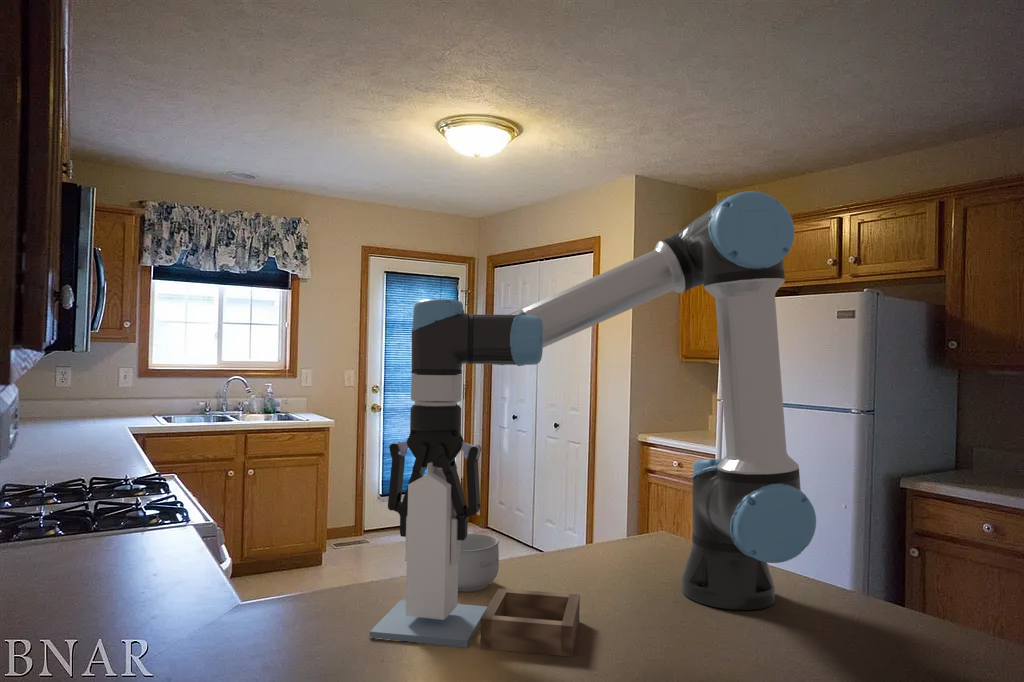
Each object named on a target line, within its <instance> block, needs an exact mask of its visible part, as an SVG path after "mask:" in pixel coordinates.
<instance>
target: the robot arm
mask: <svg viewBox="0 0 1024 682" xmlns="http://www.w3.org/2000/svg"><path fill="white" fill-rule="evenodd" d="M794 240H795V225H794V221H793V218H792V216H791V213H790V212H789V210H788V208H786V206H785V205H784V204H783V203H782V202H780V201H779V200H778V199H777V198H775V197H774V196H772V195H770V194H767V193H765V192H761V191H757V190H756V191H755V190H748V191H741V192H737V193H736V194H735V193H734V194H733V195H728V196H727V197H725V198H723V199H721V200H720V201H719V202H718V203H716V204H715V206H714V207H711V209H709V210H707V211H706V212H704V213H702V214H701V215H699V216H698V217H697V218H696V219H694V220H693V221H691V222H690V223H689V224H688V225H686V226H685V227H683V228H682V229H680V230H679V231H677V232H675V233H674V234H672V235H671V236H668V237H667V238H664V239H662V240H659V241H658V242H656V245H655V247H654V250H652V251H649V252H648V253H645V254H643V255H640V256H638V257H635V258H634V259H632V260H629V261H627V262H625V263H622V264H620V265H618V266H615V267H613V268H612V269H609V270H607V271H604V272H602V273H599V274H598V275H595V276H593V277H591V278H589V279H586V280H584V281H582V282H579V283H577V284H575V285H572V286H571V287H568V288H566V289H564V290H562V291H559V292H557V293H554V294H551V295H550V296H548V297H546V298H543V299H541V300H538V301H536V302H534V303H532V304H530V305H527V306H524V307H523V308H521V309H518V310H517V311H514V312H511V313H509V314H474V313H465V310H464V304H463V302H462V301H461V300H456V299H443V298H427V299H425V298H424V299H421V300H418V301H417V302H416V303H415V304H414V307H413V310H412V311H413V312H412V329H411V375H410V376H411V377H410V379H411V380H410V400H411V401H412V402H414V404H412V405H411V406H410V411H409V412H410V415H409V417H410V418H409V420H410V421H409V422H410V423H409V430H410V431H409V435H408V436H407V438H406V440H405V441H397V442H396V441H395V442H393V443H391V444H390V445H389V447H388V448H389V449H388V450H389V453H390V458H391V464H390V465H391V468H390V480H389V487H388V499H387V509H388V510H389V511H394V512H397V514H399V534H400V537H404V538H405V556H404V559H405V562H407V517H408V485H409V484H410V483H412V482H414V481H416V480H417V479H419V478H421V477H423V476H425V472H426V471H427V465H428V463H430V462H433V466H435V467H438V468H442V470H443V473H444V474H445V477H446V480H447V482H448V483H449V484H451V498H452V501H453V504H454V508H455V511H456V516H455V517H454V518H452V523H451V564H452V565H456V564H457V563H458V562H459V560H460V554H461V540H465V539H466V537H467V533H468V529H469V528H468V524H469V523H468V520H469V517H470V516H475V515H476V514H477V513H478V512H480V510H481V495H480V493H481V492H480V476H479V458H480V455H481V452H482V447H481V445H480V444H475V445H473V444H470V443H468V442H465V441H464V438H463V436H462V407H461V405H459V404H458V403H459V402H461V401H462V393H463V391H462V389H463V386H462V384H463V383H462V382H463V381H462V380H463V370H462V368H463V365H464V364H466V365H467V364H468V365H475V364H476V365H497V366H498V365H499V366H507V365H508V366H517V367H520V366H533V365H534V366H535V365H538V364H539V363H540V362H541V361H542V357H543V349H544V348H546V347H548V346H550V345H552V344H555V343H557V342H559V341H562V340H564V339H566V338H568V337H571V336H573V335H575V334H577V333H580V332H582V331H584V330H587V329H589V328H591V327H593V326H595V325H598V324H600V323H602V322H604V321H607V320H609V319H612V318H613V317H616V316H618V315H621V314H623V313H625V312H627V311H629V310H632V309H634V308H636V307H638V306H641V305H643V304H645V303H648V302H650V301H652V300H654V299H656V298H659V297H661V296H663V295H665V294H668V293H671V292H675V293H677V294H682V293H683V294H684V293H685V292H687V291H689V290H691V289H694V288H696V287H700V286H703V288H704V291H706V292H708V294H710V296H712V297H713V298H714V300H715V311H716V312H715V313H716V325H717V340H718V352H719V353H718V354H719V365H720V366H719V367H720V368H719V369H720V380H721V381H720V382H721V393H722V394H721V395H722V397H721V398H722V407H723V408H722V409H723V410H722V411H723V425H724V436H725V448H726V449H725V450H726V453H725V456H724V457H723V458H699V459H697V460H695V462H694V463H693V467H692V468H693V471H692V475H691V481H692V530H691V531H692V533H691V534H692V535H691V536H692V539H691V540H692V541H691V542H692V543H691V548H690V552H689V555H688V557H687V560H686V563H685V565H684V569H683V572H682V574H681V584H680V585H681V586H680V587H681V592H682V594H683V595H684V596H685V597H687V598H688V599H690V600H692V601H693V602H696V603H699V604H702V605H706V606H708V607H712V608H713V607H714V608H719V609H724V610H734V611H753V610H760V609H761V610H762V609H766V608H768V607H770V606H773V604H775V602H776V587H775V583H774V581H773V577H772V574H771V571H770V568H769V563H770V564H781V563H784V562H788V561H791V560H793V559H795V558H796V557H798V556H799V555H801V553H802V552H803V551H804V550H805V549H806V548H808V547H809V545H810V544H811V542H812V540H813V537H814V536H815V534H816V528H817V515H816V510H815V507H814V506H813V504H812V502H811V501H810V499H809V498H808V496H807V495H806V494H805V493H804V492H803V491H802V490H801V477H800V475H801V474H800V466H799V463H797V462H796V461H795V460H794V458H792V457H790V456H789V454H788V451H787V441H786V439H787V437H786V427H785V413H784V411H785V410H784V401H783V400H784V399H783V387H782V386H783V385H782V370H781V359H780V347H779V333H778V331H779V330H778V320H777V306H776V293H777V292H778V290H779V289H780V288H781V287H782V285H783V284H784V283H785V282H786V278H785V263H784V258H785V257H786V256H787V255H788V254H789V252H790V251H791V248H792V246H793V243H794ZM408 449H409V451H410V452H411V454H412V455H413V456H414V458H415V460H414V463H413V466H412V472H411V475H410V478H409V481H408V483H407V486H406V489H405V492H404V495H403V485H404V484H403V483H404V473H405V464H406V463H405V462H406V457H405V456H406V455H407V453H408ZM461 451H462V452H463V457H464V459H466V462H465V463H466V465H465V466H466V468H465V469H466V483H467V501H466V497H465V494H464V490H463V488H462V484H461V480H460V477H459V474H458V467H457V464H456V463H457V462H456V459H455V458H456V457H457V456H458V454H459V453H460V452H461ZM402 495H403V496H402ZM402 497H403V498H402ZM467 504H468V505H467Z"/></svg>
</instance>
